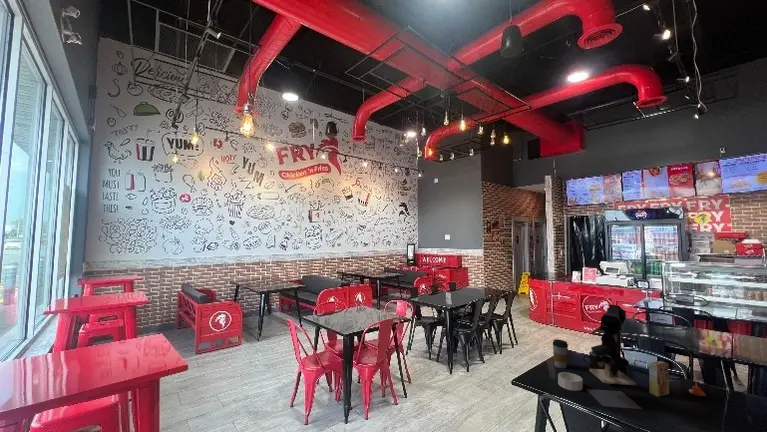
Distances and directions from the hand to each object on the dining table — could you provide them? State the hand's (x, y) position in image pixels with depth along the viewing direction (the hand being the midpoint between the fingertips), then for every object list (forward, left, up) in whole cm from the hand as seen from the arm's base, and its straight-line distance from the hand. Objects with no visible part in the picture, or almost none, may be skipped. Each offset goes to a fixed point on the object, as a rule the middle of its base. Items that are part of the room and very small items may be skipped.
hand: (611, 373), depth 163 cm
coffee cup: (+10, -38, -13) cm, 41 cm away
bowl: (+15, -11, -12) cm, 22 cm away
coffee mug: (-8, -35, -13) cm, 38 cm away
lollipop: (-45, -11, -13) cm, 48 cm away
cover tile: (0, 0, -2) cm, 2 cm away
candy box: (-27, -10, -13) cm, 32 cm away
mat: (0, 0, -12) cm, 13 cm away
